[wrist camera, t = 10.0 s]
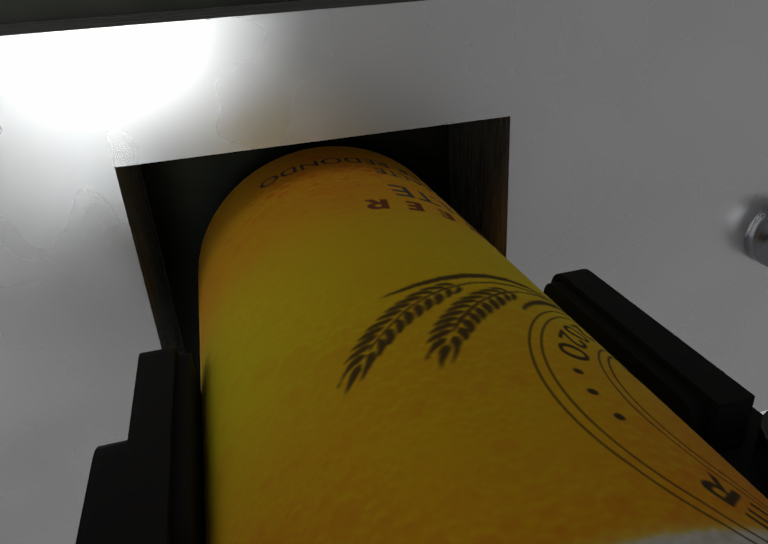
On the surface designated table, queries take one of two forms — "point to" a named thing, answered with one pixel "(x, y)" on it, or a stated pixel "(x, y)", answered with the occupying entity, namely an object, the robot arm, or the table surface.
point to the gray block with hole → (355, 118)
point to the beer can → (422, 384)
